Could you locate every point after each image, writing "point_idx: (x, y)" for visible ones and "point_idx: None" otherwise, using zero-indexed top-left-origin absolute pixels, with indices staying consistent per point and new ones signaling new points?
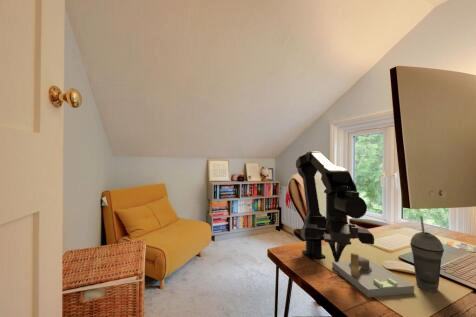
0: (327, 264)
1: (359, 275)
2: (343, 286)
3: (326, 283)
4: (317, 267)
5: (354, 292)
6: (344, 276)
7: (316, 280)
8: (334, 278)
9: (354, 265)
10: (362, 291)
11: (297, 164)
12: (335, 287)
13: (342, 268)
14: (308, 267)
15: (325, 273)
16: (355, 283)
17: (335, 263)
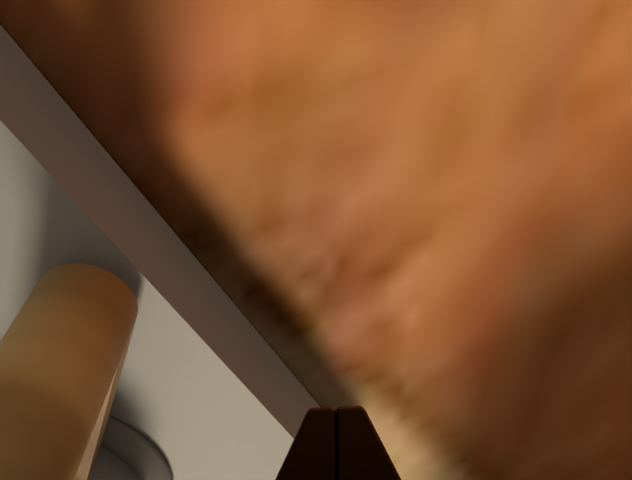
0: None
1: None
2: (256, 108)
3: (478, 100)
4: (510, 401)
5: (114, 4)
6: (233, 313)
7: (606, 128)
8: (351, 253)
9: (15, 392)
10: (7, 46)
11: None
12: (366, 39)
13: (245, 408)
14: (620, 374)
15: (443, 320)
16: (95, 174)
17: None
